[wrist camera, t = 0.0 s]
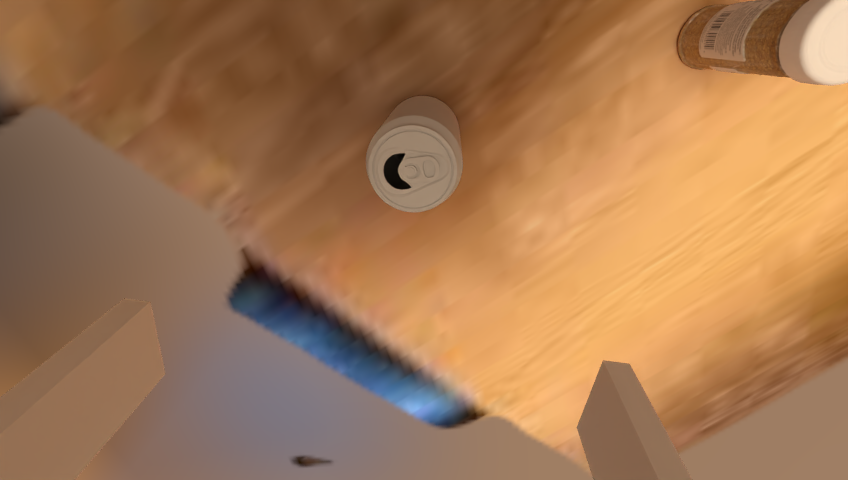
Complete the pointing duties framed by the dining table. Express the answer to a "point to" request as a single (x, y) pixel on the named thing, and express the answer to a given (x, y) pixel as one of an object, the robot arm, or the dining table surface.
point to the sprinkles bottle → (771, 39)
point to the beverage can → (416, 155)
